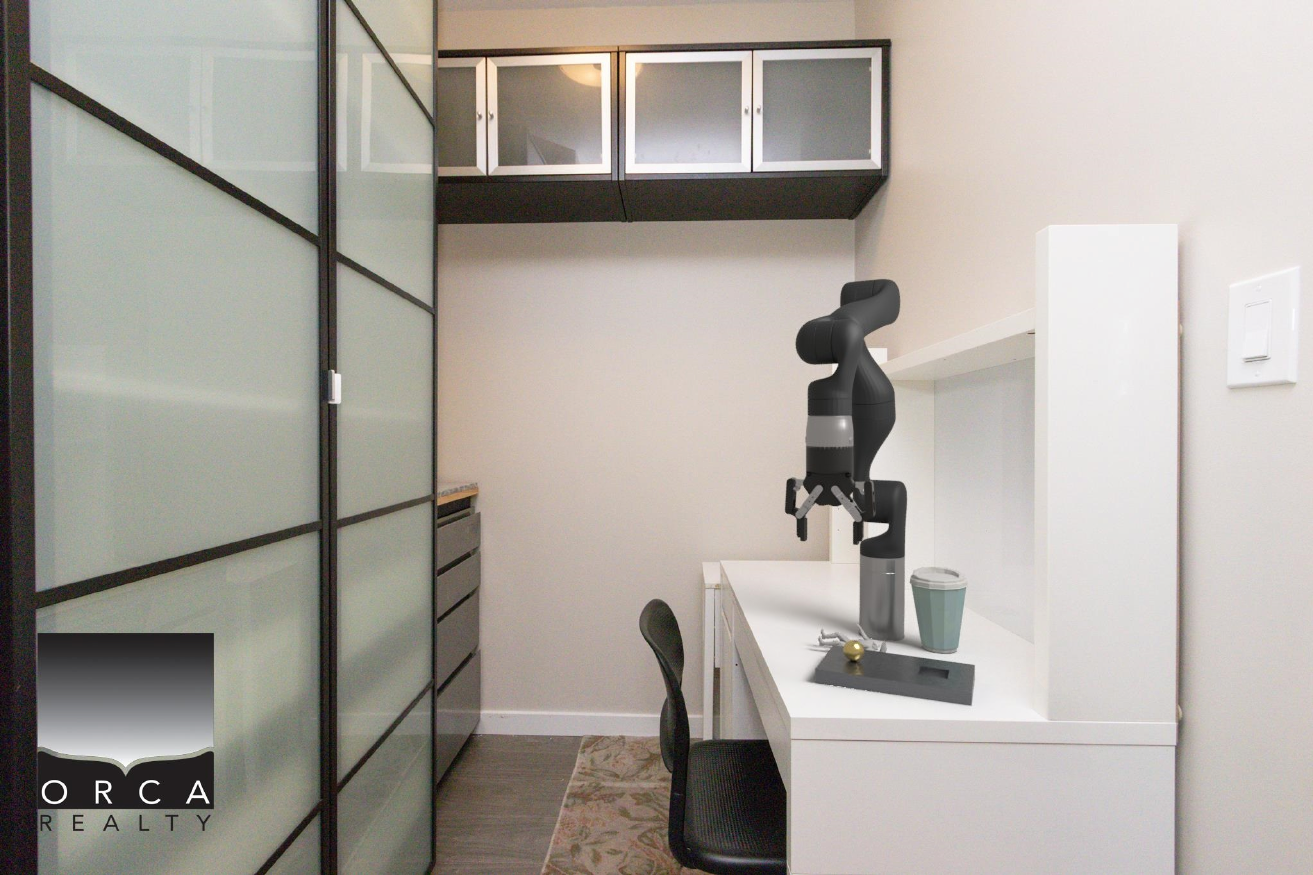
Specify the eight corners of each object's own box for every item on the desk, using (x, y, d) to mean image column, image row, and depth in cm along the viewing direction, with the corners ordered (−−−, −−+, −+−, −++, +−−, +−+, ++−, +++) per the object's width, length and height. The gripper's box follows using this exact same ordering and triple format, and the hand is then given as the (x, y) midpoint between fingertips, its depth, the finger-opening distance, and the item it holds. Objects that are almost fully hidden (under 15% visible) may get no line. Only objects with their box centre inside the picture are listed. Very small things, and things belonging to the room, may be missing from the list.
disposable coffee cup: (974, 658, 131) (975, 578, 130) (914, 655, 133) (914, 576, 132) (960, 641, 141) (960, 566, 141) (904, 638, 143) (904, 565, 143)
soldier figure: (823, 619, 140) (886, 620, 134) (827, 640, 141) (890, 642, 136) (815, 642, 133) (881, 643, 128) (820, 664, 134) (885, 666, 129)
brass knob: (845, 656, 125) (845, 636, 125) (865, 659, 123) (865, 639, 123) (841, 662, 122) (841, 642, 122) (862, 665, 120) (862, 644, 120)
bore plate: (833, 658, 131) (833, 645, 131) (974, 679, 120) (974, 664, 120) (815, 683, 118) (815, 668, 118) (971, 709, 108) (971, 693, 108)
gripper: (878, 443, 115) (877, 541, 116) (792, 442, 121) (792, 535, 122) (871, 445, 109) (870, 549, 109) (780, 444, 115) (780, 543, 115)
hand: (829, 542), depth 116 cm, fingers open, 8 cm apart
